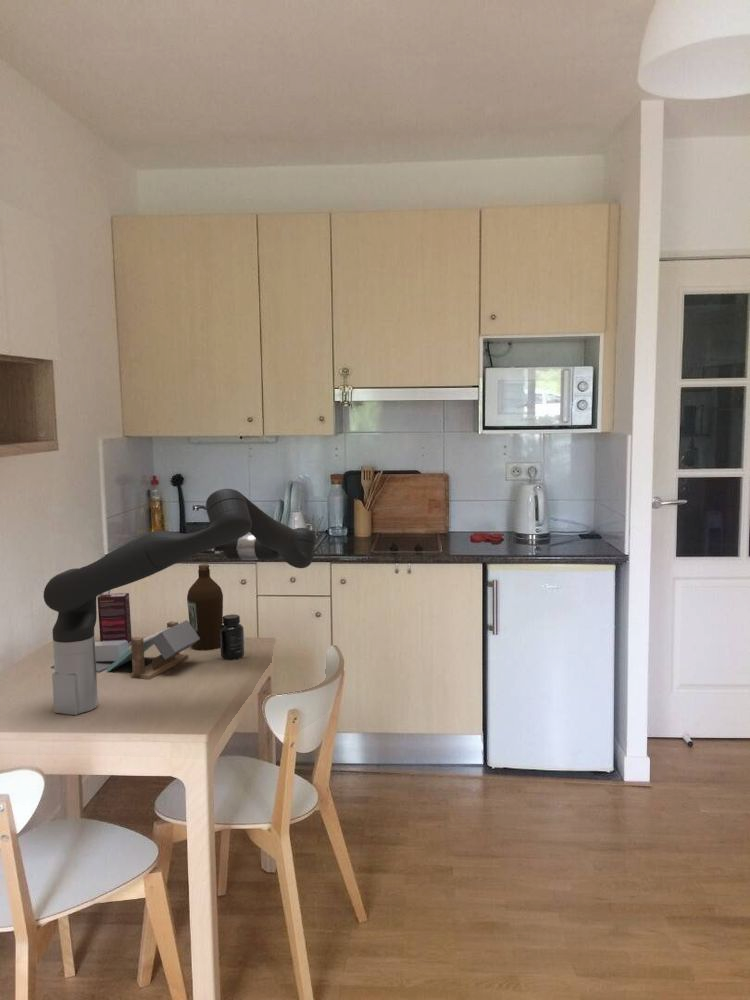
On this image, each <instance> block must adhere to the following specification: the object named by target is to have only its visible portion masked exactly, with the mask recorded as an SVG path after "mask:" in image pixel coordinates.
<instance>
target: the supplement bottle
mask: <svg viewBox="0 0 750 1000" xmlns="http://www.w3.org/2000/svg"><path fill="white" fill-rule="evenodd" d="M240 623H241V617H240V615H239V614H232V613H231V614H226V615H223V626H221V628H220V647H219V648H220V658H222V659H223V660H226V659H228V660H227V661H234V660H233V659H236V660H240V659H242V658H243V657H244V656H245V634H244V633H245V632H244V631H245V630H244V626H243V625H242V624H240ZM239 658H240V659H239Z"/></svg>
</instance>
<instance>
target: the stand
mask: <svg viewBox="0 0 750 1000" xmlns="http://www.w3.org/2000/svg"><path fill="white" fill-rule="evenodd" d="M178 624H179V622H178V621H168V622H167V623H166V628H168V627H173V626H175V625H178ZM143 639H144V637H133V638H132V639H131V644H130V645H131V648H132V660H131V664H132V665H131V666H132V672H131V673H130V674H129V675H130V677H132V679H140V678H144V680H151V679H153V678H155V677H157V676H159V675H160V674H162V673H164V672H166V671H167V670H169V669H171V668H172V667H175V666H177V665H178V664H181V663H183V662H184V661H185V660H187V659H189V654H183V653H180V652H179V653H177V654H175V655H174V656H172V657H170V658H168V659H166V660H165V659H164V658H163V656H162V655H161V654H159V655H158V656H155V657H153V658H152V660H151V661H152V662H150V663H149V664H147V665H145V652H144V643H143ZM131 648H130V649H131ZM158 674H159V675H158ZM130 677H129V678H130Z"/></svg>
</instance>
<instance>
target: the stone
mask: <svg viewBox="0 0 750 1000" xmlns="http://www.w3.org/2000/svg"><path fill="white" fill-rule="evenodd" d="M128 650H130V648H129V646H128V641H105V642H100V641H95V655H96V661H116V660H117V659H119V658H120V657H121V656H122V655H124V654H125V653H126V652H127V651H128Z"/></svg>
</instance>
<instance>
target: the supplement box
mask: <svg viewBox="0 0 750 1000" xmlns="http://www.w3.org/2000/svg"><path fill="white" fill-rule="evenodd" d="M96 599H97V610H98V612H97V615H98V626H99V628H98V629H99V640H100V641H99V642H105V641H128V647H129V646H130V645H131V639H133V638H132V621H131V620H132V619H131V607H130V592H119V593H102V594H100V595H98V596H97V597H96Z"/></svg>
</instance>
